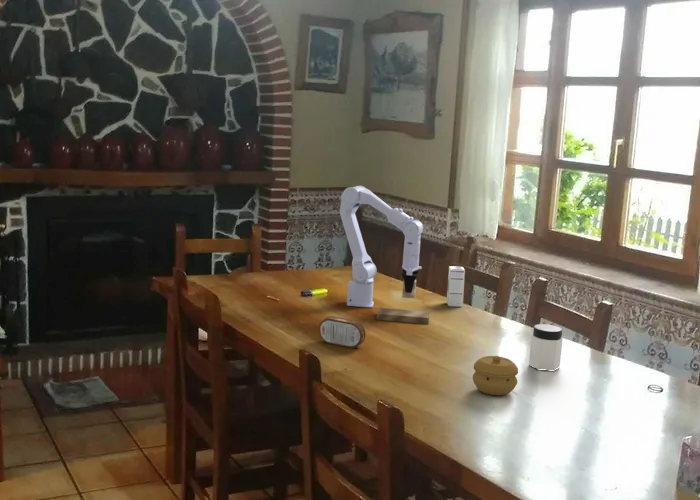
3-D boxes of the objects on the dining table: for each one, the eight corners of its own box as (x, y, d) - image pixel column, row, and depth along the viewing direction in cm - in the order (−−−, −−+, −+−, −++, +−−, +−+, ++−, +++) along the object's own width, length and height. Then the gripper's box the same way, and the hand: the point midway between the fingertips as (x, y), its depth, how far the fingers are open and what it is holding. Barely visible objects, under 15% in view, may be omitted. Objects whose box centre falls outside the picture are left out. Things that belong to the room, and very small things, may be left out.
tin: (365, 348, 247) (366, 321, 246) (361, 350, 244) (362, 323, 243) (321, 339, 253) (322, 313, 252) (316, 342, 251) (318, 315, 249)
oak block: (402, 297, 291) (403, 281, 290) (402, 294, 295) (403, 278, 294) (414, 298, 290) (415, 282, 289) (415, 295, 295) (416, 279, 294)
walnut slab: (376, 319, 281) (376, 313, 280) (378, 313, 290) (379, 307, 289) (428, 324, 279) (428, 318, 278) (429, 317, 288) (429, 311, 287)
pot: (469, 383, 220) (472, 348, 219) (512, 386, 220) (515, 350, 218) (474, 398, 209) (477, 361, 207) (519, 401, 209) (523, 364, 207)
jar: (565, 370, 236) (569, 330, 234) (542, 373, 233) (547, 333, 230) (545, 361, 244) (549, 322, 242) (523, 363, 240) (527, 324, 238)
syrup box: (462, 307, 306) (466, 269, 303) (447, 306, 306) (450, 268, 303) (461, 303, 311) (464, 266, 309) (445, 302, 311) (448, 265, 309)
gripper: (421, 258, 283) (419, 296, 285) (423, 251, 297) (420, 287, 299) (401, 257, 283) (399, 294, 286) (404, 249, 297) (401, 285, 300)
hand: (408, 291), depth 292 cm, fingers closed on oak block, 4 cm apart
